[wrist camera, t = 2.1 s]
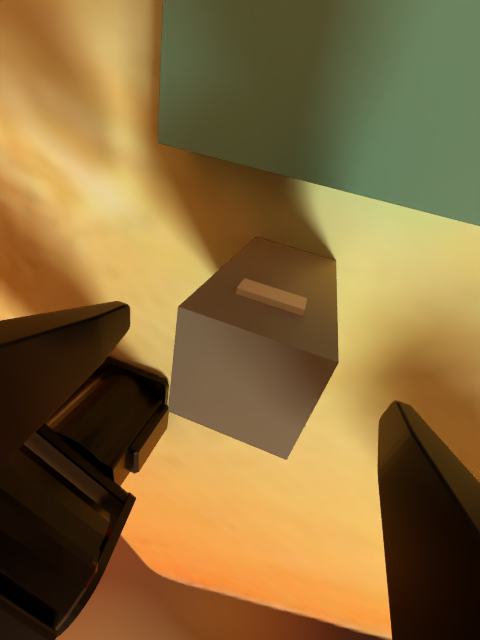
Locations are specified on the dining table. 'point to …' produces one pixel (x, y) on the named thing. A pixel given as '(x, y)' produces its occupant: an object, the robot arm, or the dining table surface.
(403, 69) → the green slotted board
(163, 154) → the dining table surface
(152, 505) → the dining table surface
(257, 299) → the block
